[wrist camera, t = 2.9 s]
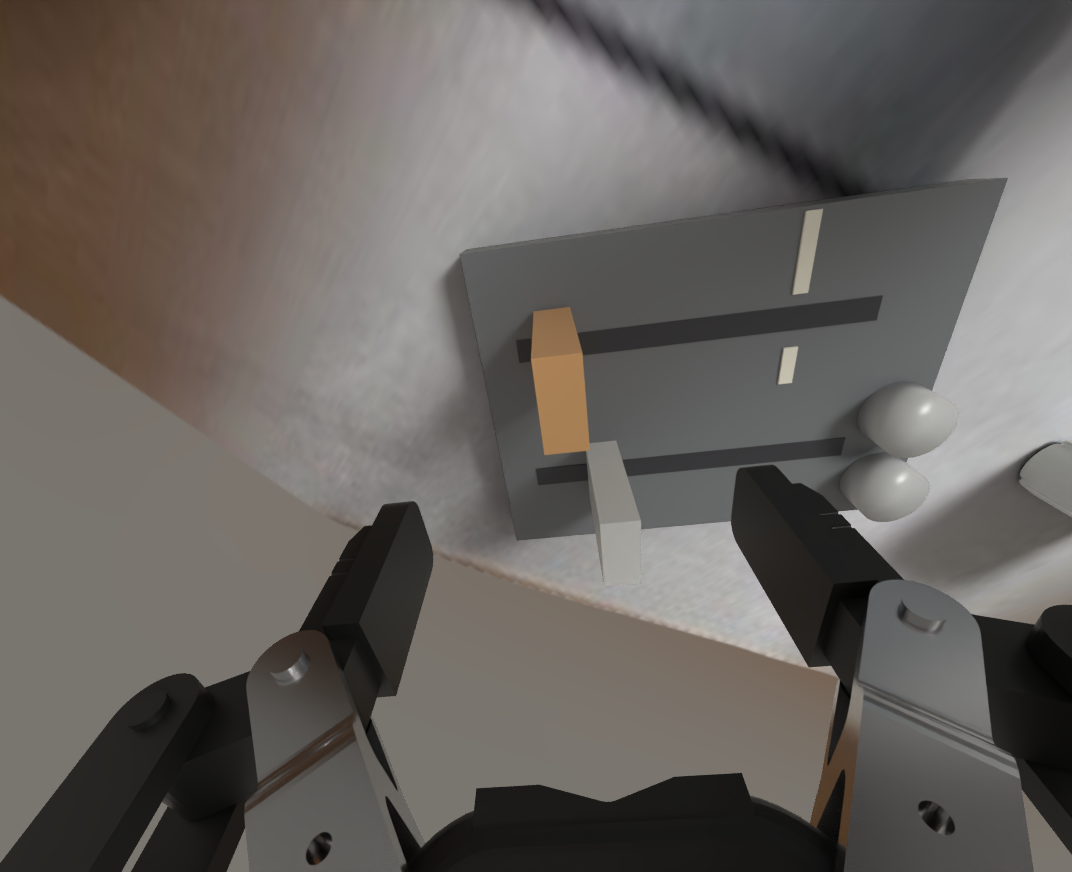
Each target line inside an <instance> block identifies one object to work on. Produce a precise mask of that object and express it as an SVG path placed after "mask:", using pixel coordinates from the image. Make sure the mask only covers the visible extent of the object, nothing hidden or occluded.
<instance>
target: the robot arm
mask: <svg viewBox="0 0 1072 872" xmlns="http://www.w3.org/2000/svg"><path fill="white" fill-rule="evenodd" d="M731 525H732V531H733V535H734V538H735V540H736V542H737V544H738V546H739V548H740V549H741V551H742V553H743V555H744V556H745V558H746V560H747V561H748V563H749V565H750V567H751V568H752V570H753V572H754V574H755V575H756V577H757V579H758V580H759V582H760V584H761V586H762V587H763V589H764V591H765V593H766V594H767V596H768V598H769V599H770V601H771V603H772V605H773V606H774V608H775V610H776V611H777V613H778V615H779V617H780V618H781V620H782V622H783V624H784V625H785V627H786V629H787V630H788V632H789V634H790V636H791V637H792V639H793V641H794V643H795V644H796V646H797V648H798V649H799V651H800V653H801V655H802V656H803V658H804V660H805V662H806V663H807V665H808V667H819V666H832V668H833V669H834V671H835V673H836V674H837V676H838V677H839V680H838V683H837V686H836V690H835V697H834V703H833V709H832V715H831V721H830V727H829V733H828V739H827V745H826V751H825V757H824V763H823V769H822V774H821V780H820V784H819V788H818V791H817V795H816V799H815V802H814V807H813V811H812V815H811V820H810V823H808V822H807V821H805V820H804V819H802V818H801V817H799V816H797V815H796V814H794V813H792V812H790V811H788V810H786V809H784V808H782V807H780V806H778V805H776V804H773V803H770V802H768V801H766V800H763V799H760V798H757V797H753V796H750V795H749V792H748V790H747V787H746V784H745V781H744V778H743V776H742V773H733V774H716V775H699V776H682V777H673V778H671V779H668V780H666V781H663V782H661V783H658V784H656V785H653V786H651V787H648V788H646V789H643V790H641V791H638V792H636V793H633V794H631V795H628V796H626V797H623V798H621V799H618V800H616V801H613V802H603V801H598V800H595V799H591V798H587V797H584V796H580V795H576V794H572V793H568V792H564V791H561V790H557V789H553V788H550V787H546V786H542V785H528V786H513V787H512V786H511V787H493V788H478V789H476V798H475V807H474V811H472V812H470V813H467V814H465V815H463V816H462V817H460V818H458V819H456V820H454V821H453V822H451V823H450V824H448V825H447V826H446V827H444V828H443V829H442V830H440V831H439V832H438V833H436V834H435V835H434V836H433V837H432V838H431V839H430V840H429V841H428V842H427V843H425V842H424V839H423V837H422V835H421V832H420V830H419V828H418V826H417V824H416V822H415V819H414V818H413V815H412V813H411V811H410V809H409V807H408V805H407V803H406V800H405V798H404V796H403V793H402V791H401V788H400V785H399V783H398V780H397V778H396V775H395V773H394V770H393V767H392V765H391V762H390V760H389V757H388V755H387V752H386V749H385V747H384V744H383V742H382V739H381V737H380V734H379V731H378V729H377V727H376V724H375V722H374V719H373V718H372V715H371V714H372V711H373V708H374V704H375V701H376V698H377V697H387V696H396V694H397V690H398V687H399V684H400V680H401V677H402V673H403V669H404V666H405V663H406V659H407V656H408V652H409V648H410V645H411V641H412V638H413V635H414V630H415V628H416V624H417V620H418V617H419V613H420V610H421V606H422V603H423V600H424V596H425V592H426V589H427V586H428V582H429V578H430V575H431V571H432V567H433V551H432V546H431V543H430V540H429V537H428V534H427V531H426V528H425V525H424V522H423V519H422V516H421V513H420V510H419V507H418V505H417V504H416V502H414V501H411V502H401V503H392V504H385V505H383V506H382V508H381V509H380V511H379V513H378V515H377V517H376V519H375V521H374V523H373V525H372V526H364V527H363V528H362V529H361V530H360V531H359V532H358V533H357V534H356V535H355V536H354V537H353V538H352V539H351V540H350V541H349V542H348V544H347V546H346V547H345V549H344V551H343V553H342V555H341V556H340V558H339V559H340V561H339V562H337V564H336V565H335V567H334V569H333V571H332V576H330V577H329V578H328V580H327V582H326V584H325V585H324V587H323V589H322V591H321V593H320V594H319V596H318V598H317V600H316V601H315V603H314V605H313V607H312V609H311V611H310V612H309V614H308V616H307V618H306V620H305V621H304V623H303V625H302V627H301V629H300V630H299V632H296V633H293V634H290V635H288V636H286V637H284V638H283V639H281V640H279V641H278V642H276V643H275V644H273V645H272V646H271V647H270V648H268V649H267V650H266V651H265V652H264V653H263V654H262V656H260V658H259V659H258V660H257V662H256V663H255V664H254V666H253V667H252V669H251V671H249V672H246V673H244V674H241V675H238V676H235V677H233V678H230V679H227V680H225V681H222V682H219V683H217V684H214V685H211V686H208V687H206V688H205V687H203V685H202V684H201V683H200V682H199V681H198V679H197V678H196V677H195V676H193V675H191V674H186V673H183V674H176V675H172V676H168V677H166V678H163V679H161V680H159V681H157V682H155V683H153V684H151V685H150V686H148V687H146V688H145V689H143V690H142V691H140V692H139V693H138V694H136V695H135V696H134V697H132V698H131V699H130V700H129V701H128V702H127V703H126V704H125V705H124V706H123V707H122V708H121V709H120V710H119V711H118V712H117V713H116V714H115V715H114V717H113V718H112V719H111V720H110V721H109V723H108V724H107V725H106V727H105V728H104V729H103V731H102V732H101V733H100V735H99V736H98V737H97V739H96V740H95V741H94V742H93V744H92V745H91V746H90V747H89V749H88V750H87V751H86V753H85V754H84V755H83V757H82V758H81V759H80V760H79V762H78V763H77V764H76V766H75V767H74V768H73V769H72V771H71V772H70V773H69V775H68V776H67V777H66V779H65V780H64V781H63V783H62V784H61V785H60V786H59V788H58V789H57V790H56V792H55V793H54V794H53V795H52V797H51V798H50V799H49V801H48V802H47V803H46V804H45V806H44V807H43V808H42V810H41V811H40V812H39V814H38V815H37V816H36V817H35V819H34V820H33V821H32V823H31V824H30V825H29V827H28V828H27V829H26V830H25V832H24V833H23V834H22V836H21V837H20V838H19V840H18V841H17V842H16V843H15V845H14V846H13V847H12V849H11V850H10V851H9V853H8V854H7V855H6V856H5V858H4V859H3V860H2V862H1V863H0V872H122V870H123V868H124V866H125V864H126V862H127V861H128V859H129V857H130V856H131V854H132V852H133V851H134V849H135V847H136V846H137V844H138V842H139V840H140V838H141V837H142V835H143V833H144V832H145V830H146V828H147V827H148V825H149V823H150V821H151V820H152V818H153V816H154V814H155V813H156V811H157V809H158V808H159V806H160V804H161V802H163V803H164V804H166V805H167V806H168V807H167V809H166V811H165V813H164V814H163V816H162V818H161V820H160V821H159V823H158V825H157V827H156V828H155V830H154V832H153V834H152V836H151V838H150V839H149V841H148V843H147V844H146V846H145V848H144V850H143V851H142V853H141V855H140V857H139V858H138V861H137V862H136V864H135V866H134V868H133V869H132V871H131V872H226V871H227V869H228V867H229V864H230V862H231V860H232V857H233V855H234V853H235V850H236V848H237V845H238V843H239V841H240V838H241V836H242V834H243V831H244V829H246V840H247V851H248V861H249V872H1034V869H1033V862H1032V855H1031V849H1030V842H1029V835H1028V828H1027V821H1026V815H1025V808H1024V802H1023V794H1022V790H1023V791H1024V792H1025V794H1026V795H1027V797H1028V798H1029V799H1030V801H1031V802H1032V803H1033V804H1034V806H1035V807H1036V808H1037V809H1038V811H1039V812H1040V814H1041V815H1042V816H1043V817H1044V819H1045V820H1046V821H1047V823H1048V824H1049V825H1050V827H1051V828H1052V829H1053V831H1055V833H1056V834H1057V836H1058V837H1059V838H1060V840H1061V841H1062V842H1063V844H1064V845H1065V846H1066V848H1067V849H1068V850H1069V851H1070V853H1071V854H1072V605H1056V606H1053V607H1049V608H1048V609H1046V610H1045V611H1044V612H1043V613H1042V615H1041V616H1040V618H1039V619H1038V621H1037V622H1036V624H1035V625H1033V624H1027V623H1021V622H1014V621H1008V620H1002V619H996V618H990V617H984V616H978V615H973V614H971V613H970V612H969V611H968V610H967V609H966V608H965V607H963V606H962V605H961V604H960V603H959V602H957V601H956V600H954V599H953V598H951V597H950V596H948V595H946V594H944V593H943V592H941V591H939V590H936V589H934V588H932V587H929V586H927V585H924V584H921V583H917V582H913V581H907V580H904V579H903V578H902V577H901V576H900V575H899V574H898V573H897V572H896V571H895V570H894V569H893V568H892V567H891V566H890V565H889V564H888V563H887V562H886V561H885V560H884V558H883V557H882V556H881V555H880V554H879V553H878V552H877V551H876V550H875V549H874V548H873V547H872V546H871V545H870V544H869V543H868V542H867V541H866V540H865V539H864V538H863V537H862V536H861V535H860V534H859V533H858V532H857V530H856V529H855V528H851V524H850V523H849V522H848V521H847V520H846V519H845V518H844V517H843V516H842V515H841V514H840V515H839V514H838V511H837V510H836V509H835V508H834V507H833V506H832V505H831V503H830V502H829V501H828V500H827V499H826V498H825V497H824V496H823V495H821V494H819V493H818V492H816V491H814V490H812V489H811V488H809V487H807V486H805V485H803V484H802V483H794V484H792V483H791V482H790V481H789V480H788V479H787V477H786V476H785V475H784V474H783V473H782V472H781V471H780V470H779V469H778V468H777V467H776V466H775V465H762V466H752V467H743V468H739V469H738V471H737V473H736V479H735V488H734V496H733V505H732V513H731Z"/></svg>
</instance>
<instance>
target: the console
mask: <svg viewBox="0 0 1072 872" xmlns="http://www.w3.org/2000/svg"><path fill="white" fill-rule="evenodd" d="M1007 179H1008V178H993V179H967V180H960V181H953V182H946V183H938V184H931V185H924V186H917V187H910V188H903V189H896V190H888V191H881V192H874V193H867V194H860V195H853V196H846V197H838V198H831V199H824V200H817V201H810V202H803V203H796V204H788V205H781V206H774V207H767V208H760V209H753V210H746V211H738V212H731V213H724V214H717V215H710V216H703V217H696V218H688V219H681V220H674V221H667V222H660V223H653V224H646V225H638V226H631V227H624V228H617V229H610V230H603V231H596V232H588V233H581V234H574V235H567V236H560V237H553V238H546V239H538V240H531V241H524V242H517V243H510V244H503V245H496V246H488V247H481V248H474V249H467V250H465V251H464V252H462V253H461V254H460V259H461V264H462V269H463V273H464V278H465V283H466V288H467V293H468V298H469V303H470V308H471V313H472V318H473V323H474V328H475V333H476V338H477V343H478V348H479V353H480V358H481V363H482V368H483V373H484V378H485V383H486V388H487V393H488V398H489V403H490V408H491V413H492V418H493V423H494V428H495V433H496V438H497V443H498V448H499V453H500V458H501V463H502V468H503V473H504V478H505V483H506V488H507V493H508V498H509V503H510V508H511V513H512V518H513V523H514V528H515V533H516V538H517V540H527V539H538V538H549V537H560V536H571V535H582V534H593V533H596V539H597V545H598V551H599V557H600V563H601V570H602V576H603V582H604V587H606V586H618V585H630V584H642V583H641V529H649V528H660V527H671V526H682V525H693V524H704V523H715V522H726V521H731V513H732V505H733V496H734V488H735V479H736V473H737V471H738V469H739V468H743V467H752V466H762V465H775V466H776V467H777V468H778V469H779V470H780V471H781V472H782V473H783V474H784V475H785V476H786V477H787V479H788V480H789V481H790V482H791V483H792V484H794V483H802V484H803V485H805V486H807V487H809V488H811V489H812V490H814V491H816V492H818V493H819V494H821V495H823V496H824V497H825V498H826V499H827V500H828V501H829V502H830V503H831V505H832V506H833V507H834V508H835V509H836V510H837V511H847V510H859V511H860V512H861V513H862V514H863V515H864V516H865V517H867V518H868V519H870V520H873V521H877V522H888V521H894V520H897V519H900V518H903V517H905V516H907V515H909V514H910V513H912V512H913V511H915V510H916V509H917V508H919V507H920V506H921V505H922V503H923V502H924V501H925V499H926V498H927V496H928V493H929V489H930V485H929V481H928V479H927V478H926V477H925V476H924V475H922V474H921V473H920V472H918V471H917V470H915V469H914V468H913V467H911V466H910V465H909V464H907V463H906V462H907V459H908V458H911V457H916V456H920V455H923V454H925V453H927V452H930V451H931V450H933V449H935V448H936V447H938V446H939V445H941V444H942V443H943V442H944V441H945V440H946V439H947V438H948V437H949V436H950V435H951V433H952V432H953V430H954V429H955V427H956V425H957V422H958V409H957V407H956V405H955V404H954V403H953V402H952V401H951V400H949V399H947V398H945V397H943V396H941V395H939V394H937V393H935V392H933V391H932V389H933V386H934V383H935V380H936V378H937V375H938V372H939V369H940V366H941V364H942V361H943V358H944V355H945V352H946V350H947V347H948V344H949V341H950V338H951V336H952V333H953V330H954V327H955V324H956V322H957V319H958V316H959V313H960V310H961V308H962V305H963V302H964V299H965V296H966V294H967V291H968V288H969V285H970V282H971V280H972V277H973V274H974V271H975V268H976V266H977V263H978V260H979V257H980V254H981V252H982V249H983V246H984V243H985V240H986V238H987V235H988V232H989V229H990V226H991V224H992V221H993V218H994V215H995V212H996V210H997V207H998V204H999V201H1000V198H1001V196H1002V193H1003V190H1004V187H1005V184H1006V182H1007ZM564 307H570V309H571V312H572V316H573V320H574V323H575V327H576V331H577V334H578V338H579V342H580V346H581V349H582V354H583V367H584V380H585V393H586V405H587V418H588V431H589V444H590V450H589V451H579V452H570V453H560V454H551V455H544V448H543V441H542V434H541V427H540V420H539V413H538V405H537V398H536V391H535V384H534V377H533V370H532V362H531V350H532V332H533V313H534V311H541V310H549V309H557V308H564Z"/></svg>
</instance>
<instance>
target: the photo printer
mask: <svg viewBox="0 0 1072 872" xmlns="http://www.w3.org/2000/svg"><path fill="white" fill-rule="evenodd" d="M1020 476H1021V479H1020V480H1019V483H1020V484H1021V485H1022V486H1023V487H1024V488H1025V489H1027V490H1028V491H1029V492H1031V493H1032V494H1033V495H1035V496H1036V497H1038V498H1039V499H1041V500H1043V501H1044V502H1046V503H1048V504H1050V505H1051V506H1053V507H1054V508H1056V509H1058V510H1060V511H1061V512H1063V513H1065V514H1067V515H1068V516H1070V517H1072V441H1064V442H1063V443H1061V444H1053V445H1050V446H1048V447H1047V448H1045V449H1043V450H1041V451H1040V452H1038V453H1037V454H1035V455H1034V456H1033V457H1032V458H1031V459H1030V460H1029V461H1028V462H1027V463H1026V464H1025V465H1024V467H1023V468H1022V470H1021V472H1020Z"/></svg>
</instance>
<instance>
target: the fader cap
mask: <svg viewBox="0 0 1072 872" xmlns="http://www.w3.org/2000/svg"><path fill="white" fill-rule="evenodd" d="M531 362H532V370H533V377H534V384H535V391H536V398H537V405H538V413H539V420H540V427H541V434H542V441H543V448H544V455H551V454H560V453H570V452H579V451H589V450H590V444H589V431H588V418H587V405H586V393H585V380H584V367H583V354H582V349H581V346H580V342H579V338H578V334H577V331H576V327H575V323H574V320H573V316H572V312H571V309H570V307H564V308H557V309H549V310H541V311H534V313H533V332H532V350H531Z"/></svg>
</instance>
